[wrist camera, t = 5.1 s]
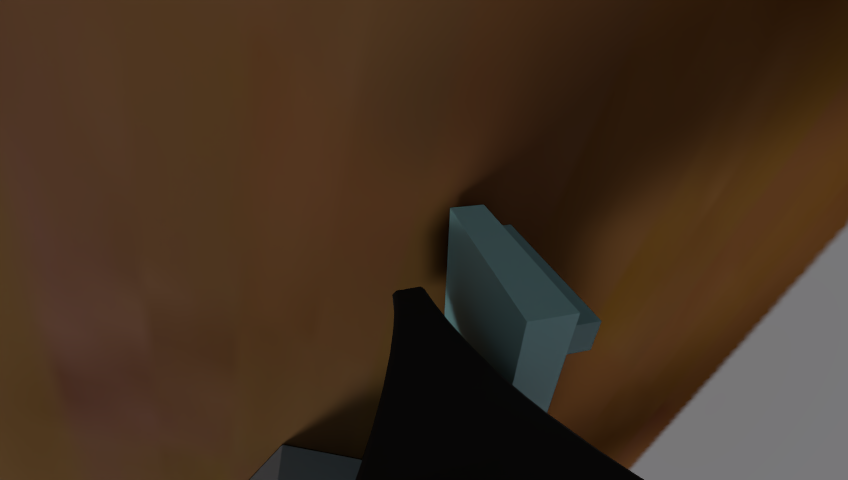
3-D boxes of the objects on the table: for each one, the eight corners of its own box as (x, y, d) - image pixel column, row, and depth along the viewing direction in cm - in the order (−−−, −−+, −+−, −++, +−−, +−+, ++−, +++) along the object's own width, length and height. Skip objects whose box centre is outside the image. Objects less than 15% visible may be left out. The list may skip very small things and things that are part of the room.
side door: (468, 468, 18) (506, 593, 14) (433, 477, 17) (462, 607, 13) (507, 200, 10) (626, 312, 6) (445, 205, 9) (525, 329, 5)
